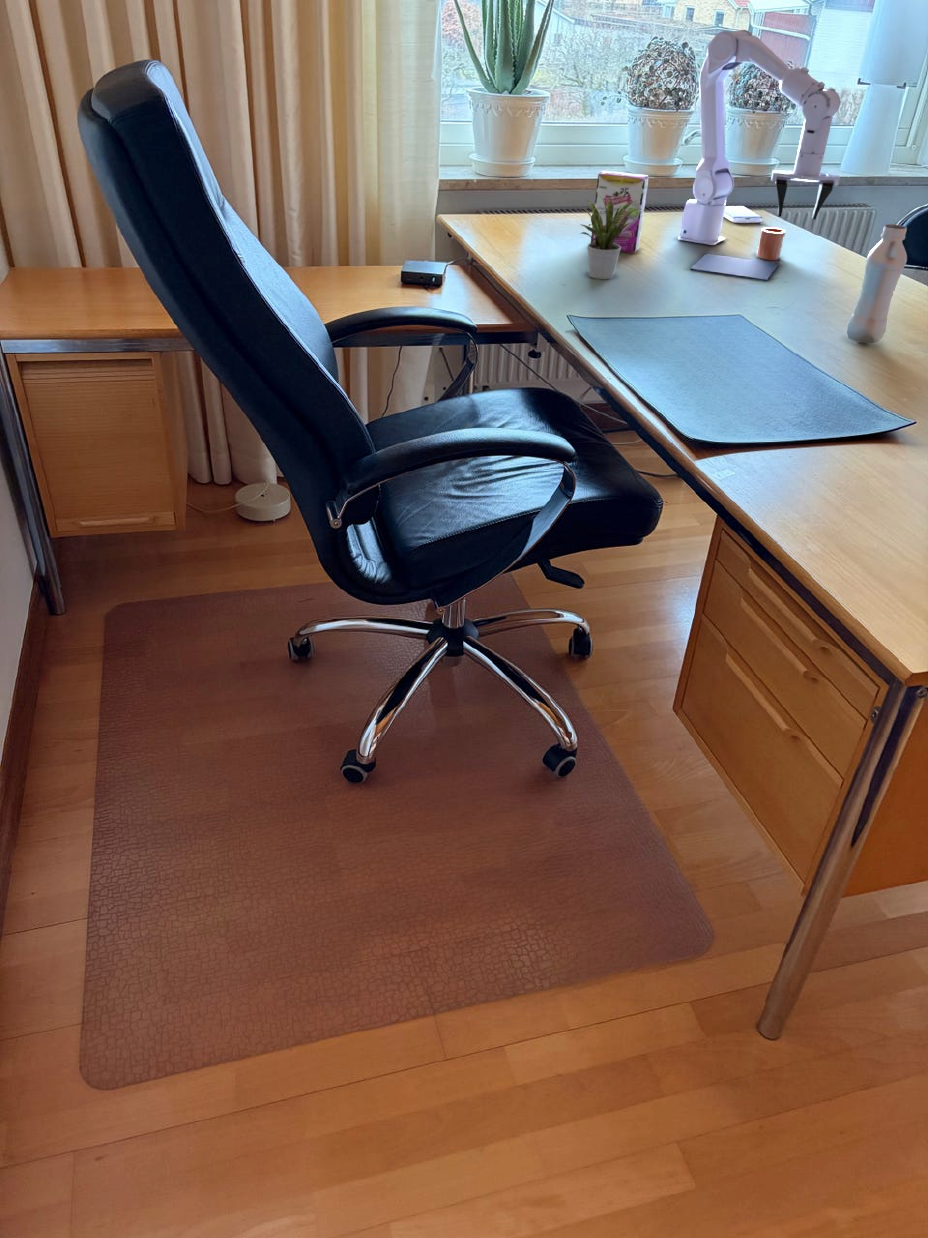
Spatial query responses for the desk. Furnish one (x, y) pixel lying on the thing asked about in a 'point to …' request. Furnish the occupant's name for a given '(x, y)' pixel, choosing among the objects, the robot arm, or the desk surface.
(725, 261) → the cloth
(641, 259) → the desk surface
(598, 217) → the house plant
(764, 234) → the cup
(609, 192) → the candy bar box
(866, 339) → the plastic bottle
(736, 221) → the hard drive
